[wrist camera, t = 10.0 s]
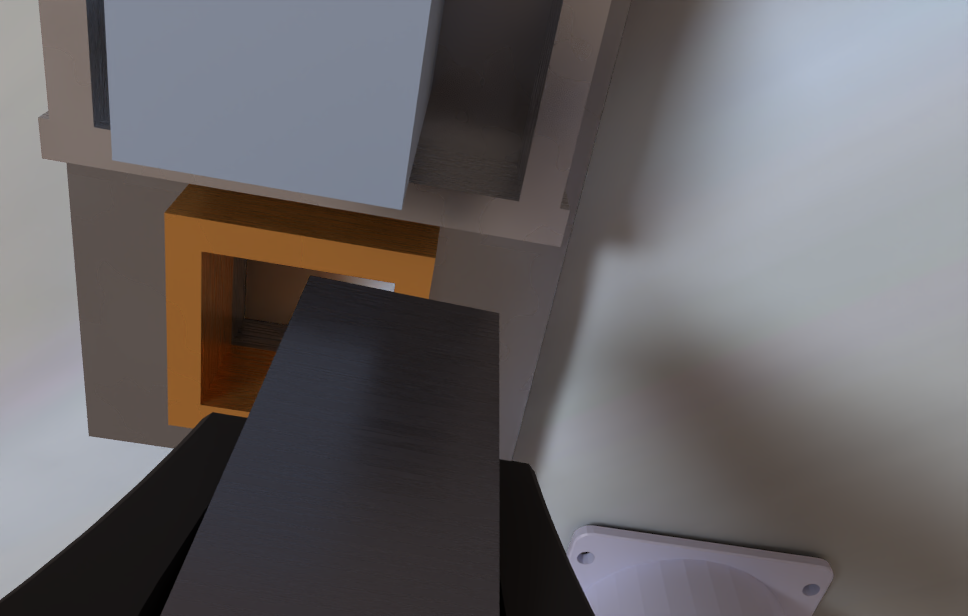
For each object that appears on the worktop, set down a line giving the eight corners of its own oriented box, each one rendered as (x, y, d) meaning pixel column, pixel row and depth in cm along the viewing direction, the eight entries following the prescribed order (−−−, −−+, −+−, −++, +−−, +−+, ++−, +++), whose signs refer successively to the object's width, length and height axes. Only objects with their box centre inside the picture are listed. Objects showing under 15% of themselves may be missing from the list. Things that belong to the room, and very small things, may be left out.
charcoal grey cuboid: (461, 458, 14) (430, 963, 7) (290, 426, 13) (112, 922, 7) (499, 313, 12) (498, 783, 6) (310, 275, 12) (111, 727, 6)
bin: (502, 466, 23) (503, 565, 20) (107, 407, 23) (45, 501, 20) (688, -265, 15) (738, -287, 12) (54, -408, 14) (-74, -472, 11)
